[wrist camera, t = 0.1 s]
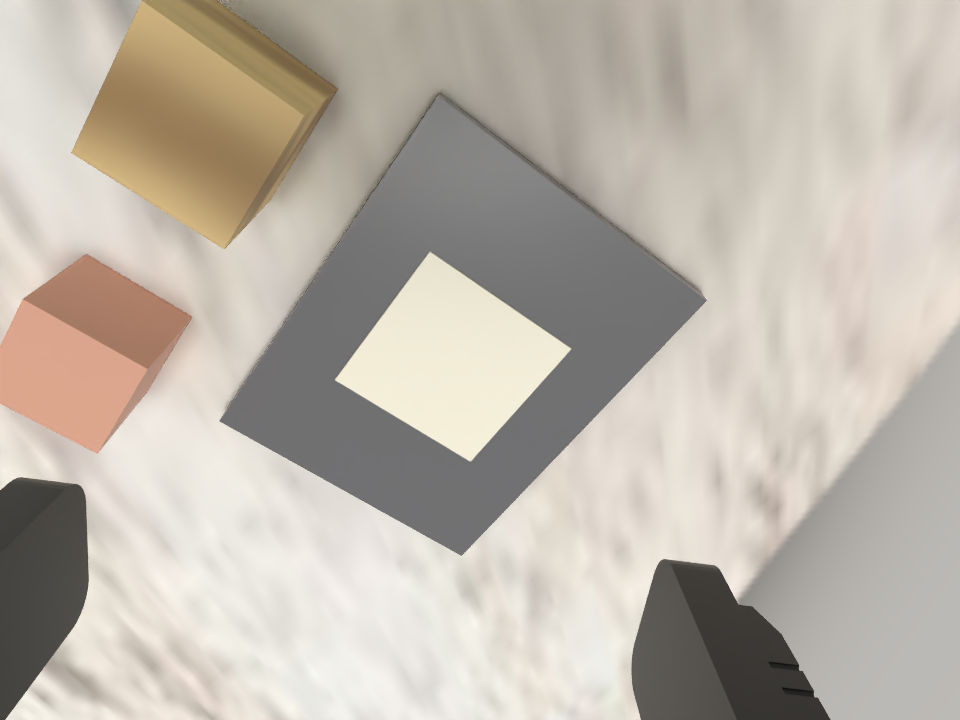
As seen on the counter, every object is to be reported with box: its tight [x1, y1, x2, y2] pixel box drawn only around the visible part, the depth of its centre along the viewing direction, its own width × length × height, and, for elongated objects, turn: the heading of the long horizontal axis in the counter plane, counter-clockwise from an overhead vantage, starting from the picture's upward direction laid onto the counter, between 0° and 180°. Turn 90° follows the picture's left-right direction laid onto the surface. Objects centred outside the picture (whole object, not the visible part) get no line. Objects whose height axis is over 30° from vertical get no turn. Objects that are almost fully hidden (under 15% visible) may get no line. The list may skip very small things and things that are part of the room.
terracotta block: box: [0, 254, 192, 454], centre depth 31 cm, size 5×5×5 cm
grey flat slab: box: [220, 93, 707, 556], centre depth 33 cm, size 18×14×1 cm
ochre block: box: [71, 0, 338, 249], centre depth 26 cm, size 6×6×6 cm
